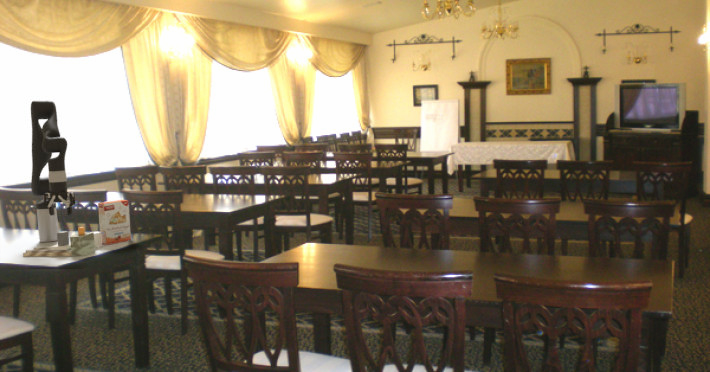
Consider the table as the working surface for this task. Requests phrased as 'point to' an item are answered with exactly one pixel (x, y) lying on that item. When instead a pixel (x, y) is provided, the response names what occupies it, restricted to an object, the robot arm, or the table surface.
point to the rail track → (79, 247)
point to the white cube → (97, 238)
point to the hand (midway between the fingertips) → (60, 215)
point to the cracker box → (114, 221)
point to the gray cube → (62, 241)
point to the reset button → (81, 230)
